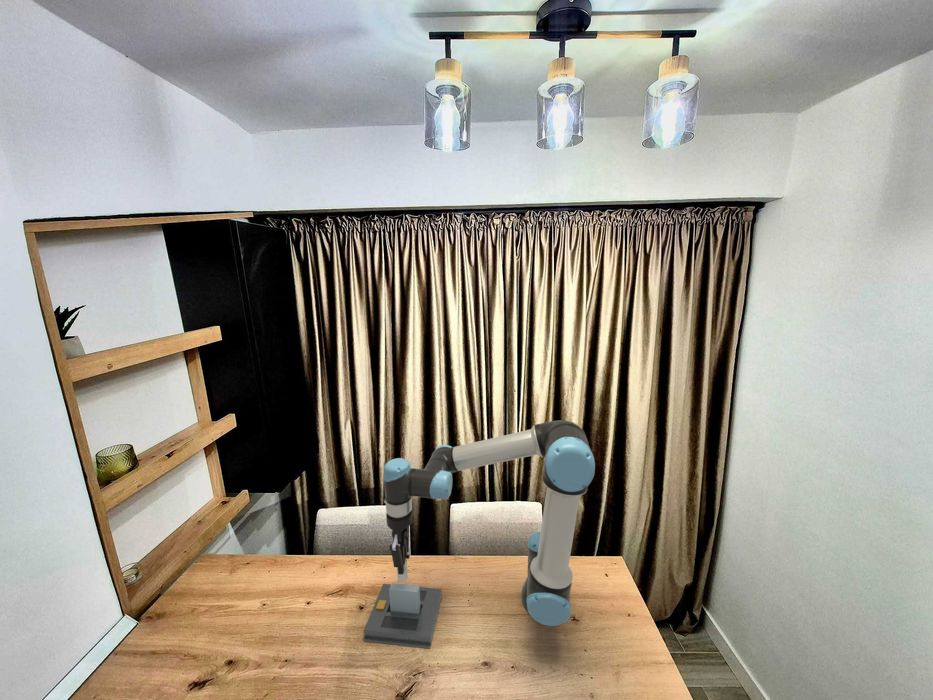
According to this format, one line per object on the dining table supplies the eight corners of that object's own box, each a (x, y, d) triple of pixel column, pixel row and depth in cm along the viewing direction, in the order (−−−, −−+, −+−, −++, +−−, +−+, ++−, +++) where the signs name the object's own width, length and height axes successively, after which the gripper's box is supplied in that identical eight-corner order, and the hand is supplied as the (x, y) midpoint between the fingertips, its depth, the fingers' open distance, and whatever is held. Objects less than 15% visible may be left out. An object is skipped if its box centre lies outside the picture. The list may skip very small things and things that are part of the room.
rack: (442, 595, 123) (441, 585, 122) (430, 648, 105) (429, 637, 105) (384, 590, 125) (383, 580, 125) (363, 641, 108) (362, 630, 107)
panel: (420, 612, 116) (419, 585, 114) (419, 619, 113) (417, 592, 111) (393, 609, 117) (391, 582, 115) (390, 616, 115) (389, 589, 113)
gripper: (393, 497, 115) (397, 562, 120) (378, 524, 102) (383, 596, 107) (417, 498, 114) (419, 564, 119) (405, 526, 101) (408, 598, 106)
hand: (402, 579), depth 113 cm, fingers closed
